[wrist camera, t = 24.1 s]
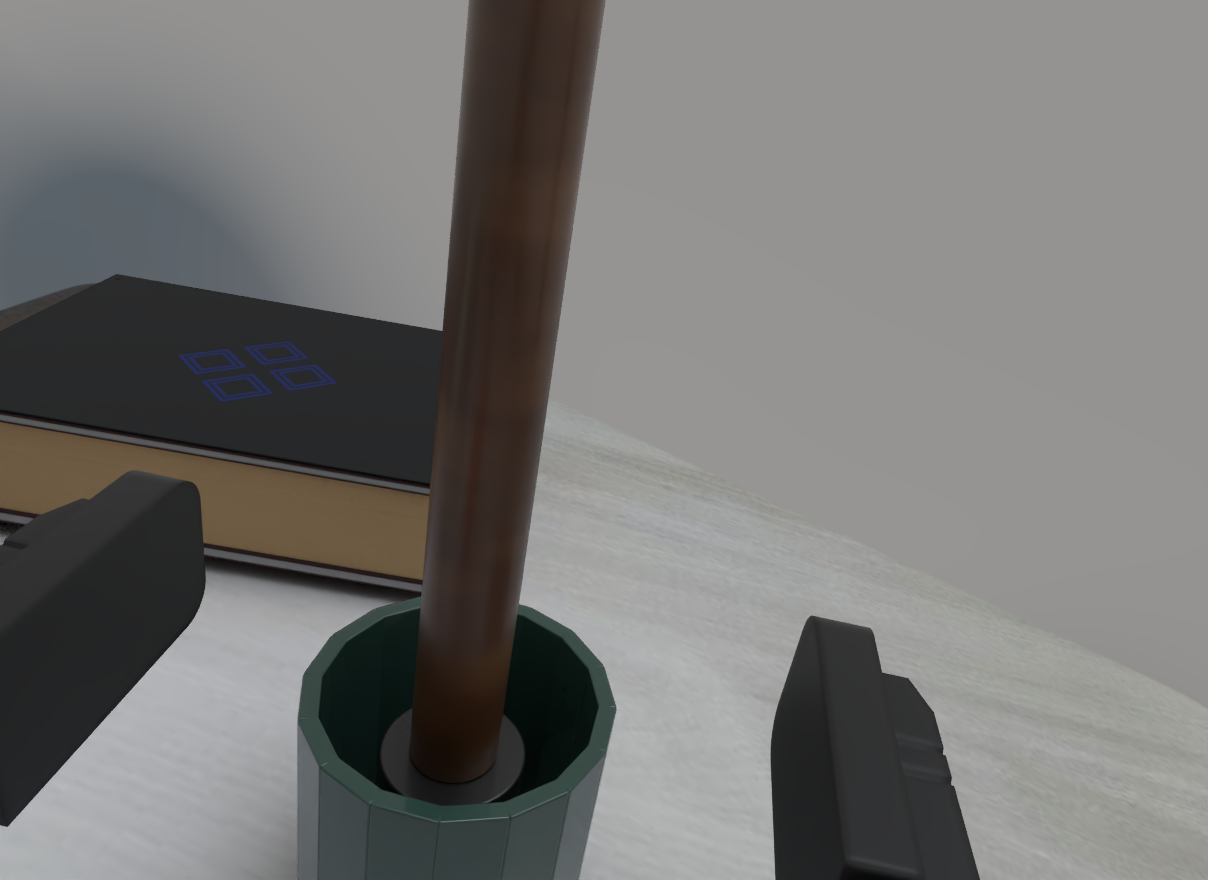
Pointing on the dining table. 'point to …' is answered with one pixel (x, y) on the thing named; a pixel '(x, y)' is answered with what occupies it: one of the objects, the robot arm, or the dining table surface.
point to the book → (230, 422)
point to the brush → (493, 388)
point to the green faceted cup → (455, 832)
